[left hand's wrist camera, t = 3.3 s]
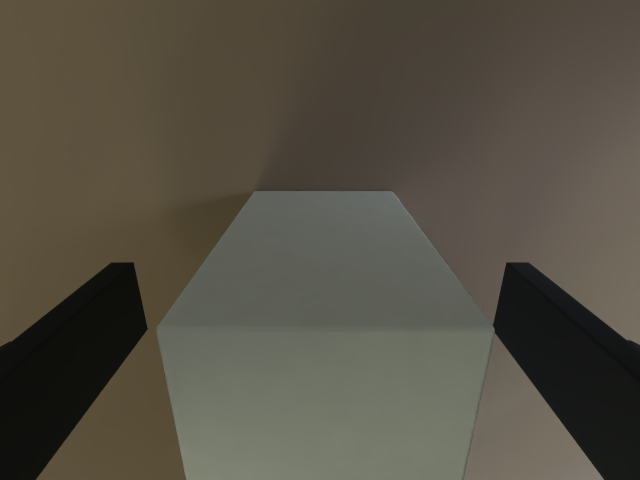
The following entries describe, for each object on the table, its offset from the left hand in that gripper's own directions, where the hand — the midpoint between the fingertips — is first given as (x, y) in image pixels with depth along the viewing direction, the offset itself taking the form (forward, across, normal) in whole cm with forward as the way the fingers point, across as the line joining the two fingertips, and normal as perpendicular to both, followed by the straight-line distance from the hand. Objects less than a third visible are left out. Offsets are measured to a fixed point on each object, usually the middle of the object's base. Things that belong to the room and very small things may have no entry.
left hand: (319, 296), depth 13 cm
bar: (+3, 0, -10) cm, 10 cm away
